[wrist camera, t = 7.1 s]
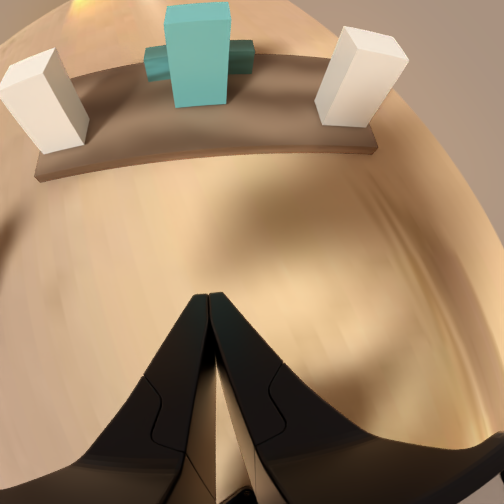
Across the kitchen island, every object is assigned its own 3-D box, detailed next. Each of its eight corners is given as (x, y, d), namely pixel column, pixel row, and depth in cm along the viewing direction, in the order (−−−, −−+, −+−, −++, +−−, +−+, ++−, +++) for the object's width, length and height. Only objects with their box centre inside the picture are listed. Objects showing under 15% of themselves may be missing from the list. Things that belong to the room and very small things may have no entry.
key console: (372, 154, 26) (392, 128, 22) (40, 182, 22) (18, 160, 18) (337, 67, 29) (348, 41, 25) (65, 88, 25) (53, 63, 21)
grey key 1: (365, 127, 25) (409, 60, 16) (322, 125, 24) (357, 48, 16) (356, 104, 26) (393, 37, 17) (314, 100, 25) (343, 25, 16)
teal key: (226, 104, 24) (231, 19, 15) (175, 108, 23) (163, 24, 15) (223, 81, 25) (228, 1, 16) (176, 85, 24) (167, 6, 15)
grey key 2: (84, 144, 22) (42, 72, 13) (43, 154, 21) (-5, 92, 12) (89, 118, 22) (55, 47, 14) (50, 128, 22) (9, 65, 13)
